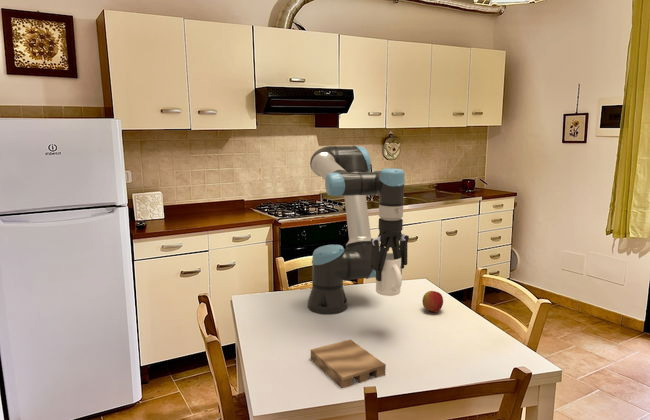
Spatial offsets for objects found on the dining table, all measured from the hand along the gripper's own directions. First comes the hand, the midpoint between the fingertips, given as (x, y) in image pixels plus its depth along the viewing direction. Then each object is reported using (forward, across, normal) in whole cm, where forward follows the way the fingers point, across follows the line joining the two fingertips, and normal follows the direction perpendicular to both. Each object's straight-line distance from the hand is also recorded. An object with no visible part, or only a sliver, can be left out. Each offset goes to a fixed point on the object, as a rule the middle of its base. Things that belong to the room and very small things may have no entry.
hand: (388, 288), depth 152 cm
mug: (+2, +1, 0) cm, 2 cm away
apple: (+17, +28, +9) cm, 34 cm away
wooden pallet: (+17, -22, -10) cm, 29 cm away
